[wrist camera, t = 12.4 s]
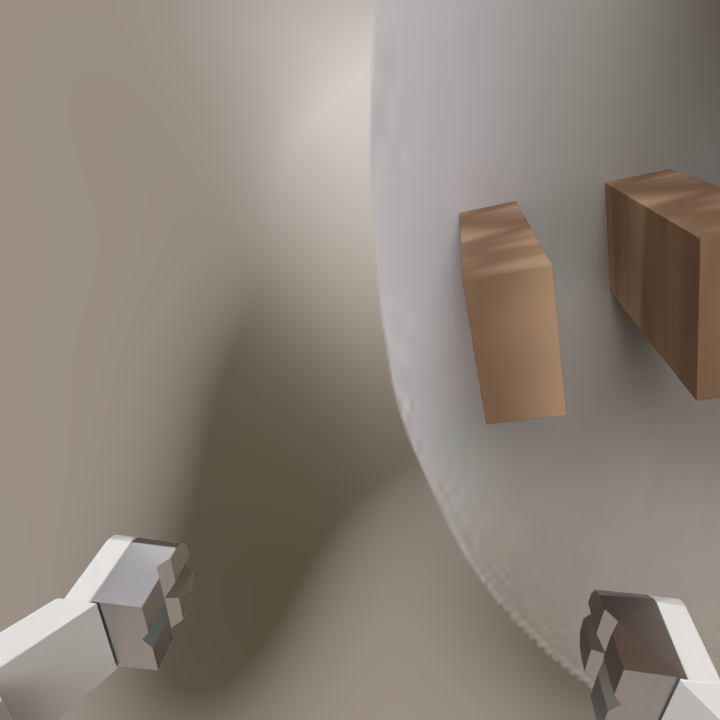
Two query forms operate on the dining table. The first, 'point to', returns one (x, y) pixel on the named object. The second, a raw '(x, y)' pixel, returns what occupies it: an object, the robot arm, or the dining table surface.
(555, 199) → the dining table surface
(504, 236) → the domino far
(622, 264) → the domino
